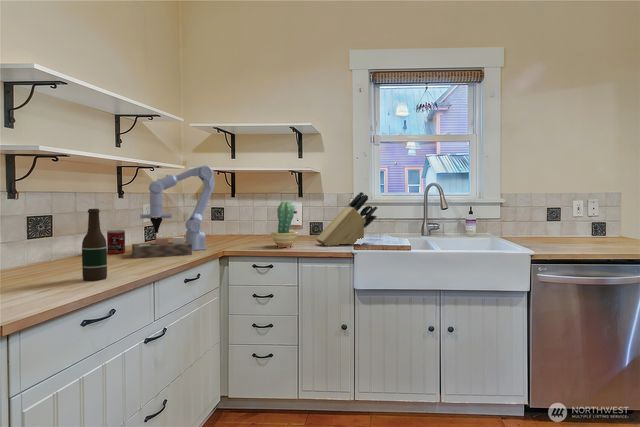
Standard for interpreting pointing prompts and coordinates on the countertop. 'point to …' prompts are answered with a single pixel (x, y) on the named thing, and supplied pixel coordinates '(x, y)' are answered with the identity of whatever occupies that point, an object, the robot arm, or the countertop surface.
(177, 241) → the key cream
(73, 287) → the countertop surface
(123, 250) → the canned food
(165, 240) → the key terracotta
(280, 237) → the potted cactus
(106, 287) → the countertop surface
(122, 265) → the countertop surface
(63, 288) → the countertop surface
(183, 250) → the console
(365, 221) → the knife block
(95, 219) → the beer bottle
